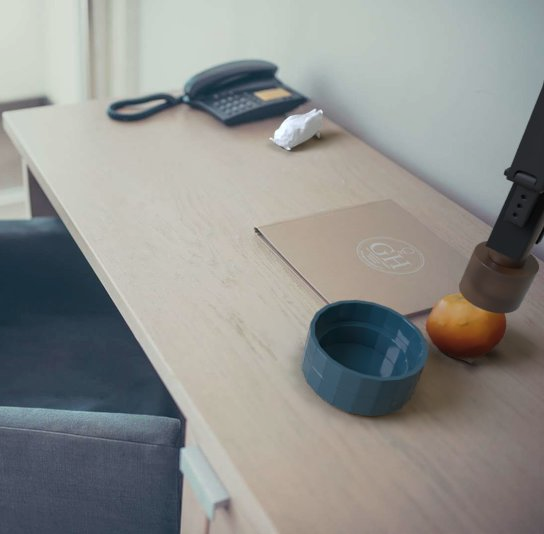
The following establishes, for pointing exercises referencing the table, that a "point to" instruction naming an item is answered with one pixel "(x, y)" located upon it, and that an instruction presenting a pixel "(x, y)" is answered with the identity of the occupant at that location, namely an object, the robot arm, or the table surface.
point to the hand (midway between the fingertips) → (513, 243)
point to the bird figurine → (298, 129)
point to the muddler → (499, 278)
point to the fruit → (464, 328)
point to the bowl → (363, 357)
